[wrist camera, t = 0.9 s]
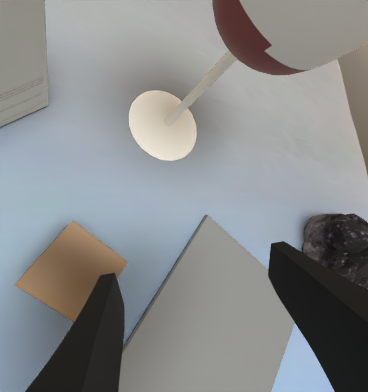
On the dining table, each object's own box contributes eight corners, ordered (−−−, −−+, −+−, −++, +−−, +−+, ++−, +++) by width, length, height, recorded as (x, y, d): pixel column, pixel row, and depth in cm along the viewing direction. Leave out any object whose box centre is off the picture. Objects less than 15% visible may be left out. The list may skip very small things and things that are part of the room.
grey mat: (241, 461, 25) (245, 465, 25) (100, 383, 20) (102, 386, 20) (298, 300, 33) (302, 301, 32) (205, 215, 28) (208, 215, 27)
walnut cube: (75, 308, 21) (81, 326, 16) (22, 275, 19) (14, 284, 15) (113, 258, 23) (128, 262, 18) (68, 224, 21) (72, 220, 17)
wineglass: (208, 159, 30) (494, 8, 10) (131, 166, 25) (396, -84, 6) (192, 90, 30) (436, -172, 11) (115, 85, 25) (304, -388, 6)
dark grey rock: (356, 264, 42) (434, 262, 33) (327, 324, 34) (418, 340, 26) (316, 198, 41) (385, 179, 33) (277, 244, 34) (355, 233, 25)
